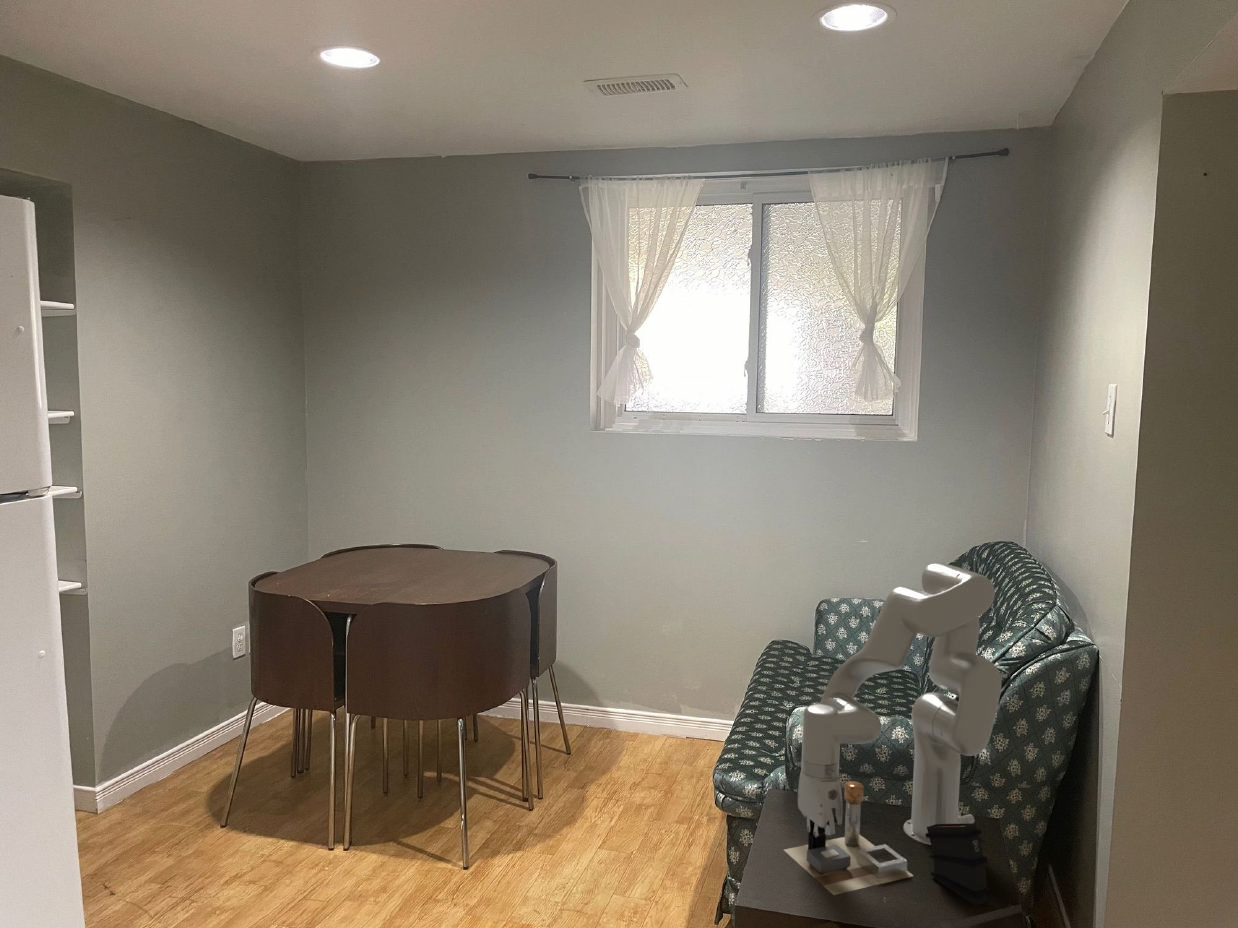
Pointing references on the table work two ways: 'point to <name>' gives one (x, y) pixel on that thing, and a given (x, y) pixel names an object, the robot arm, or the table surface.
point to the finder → (828, 858)
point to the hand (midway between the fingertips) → (816, 851)
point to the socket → (886, 869)
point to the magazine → (959, 860)
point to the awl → (853, 812)
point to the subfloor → (842, 878)
